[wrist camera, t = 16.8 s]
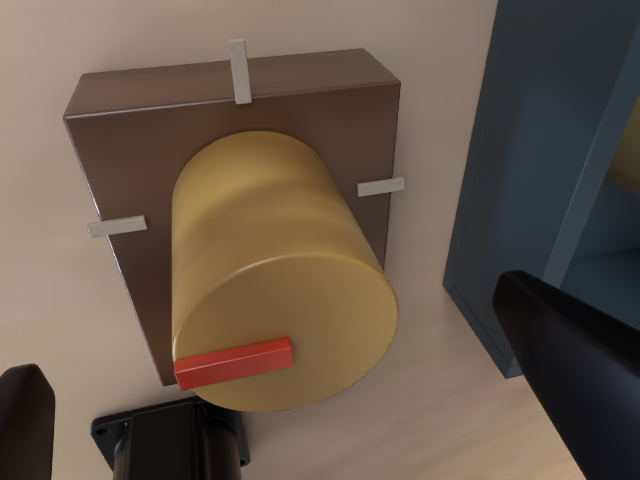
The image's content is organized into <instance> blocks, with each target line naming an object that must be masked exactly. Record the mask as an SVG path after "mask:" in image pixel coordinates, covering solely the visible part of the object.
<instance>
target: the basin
mask: <svg viewBox="0 0 640 480" xmlns="http://www.w3.org/2000/svg"><path fill="white" fill-rule="evenodd" d="M639 93H640V0H499V2H498V8H497V13H496V18H495V23H494V28H493V33H492V38H491V43H490V48H489V53H488V58H487V63H486V68H485V73H484V78H483V83H482V88H481V93H480V98H479V103H478V108H477V114H476V119H475V124H474V129H473V134H472V139H471V144H470V149H469V154H468V159H467V164H466V169H465V174H464V179H463V184H462V189H461V194H460V199H459V204H458V209H457V214H456V219H455V225H454V230H453V235H452V240H451V245H450V250H449V255H448V260H447V265H446V270H445V275H444V280H443V286H444V288H445V289H446V291H447V292H448V294H449V295H450V296H451V298H452V300H453V301H454V303H455V304H456V306H457V307H458V309H459V310H460V312H461V313H462V315H463V316H464V318H465V319H466V321H467V322H468V324H469V325H470V327H471V328H472V330H473V331H474V333H475V334H476V336H477V337H478V339H479V340H480V342H481V343H482V345H483V346H484V348H485V349H486V351H487V352H488V354H489V355H490V357H491V358H492V360H493V361H494V363H495V364H496V366H497V367H498V369H499V370H500V372H501V373H502V375H503V376H504V378H505V379H508V378H513V377H517V376H521V375H523V373H522V371H521V369H520V367H519V365H518V363H517V361H516V359H515V357H514V355H513V352H512V350H511V348H510V346H509V344H508V342H507V340H506V337H505V335H504V333H503V331H502V329H501V327H500V325H499V322H498V320H497V318H496V316H495V314H494V312H493V309H492V296H493V293H494V290H495V286H496V283H497V280H498V277H499V275H500V274H501V273H502V272H506V271H511V270H516V269H519V270H523V271H525V272H527V273H529V274H531V275H533V276H535V277H537V278H539V279H540V280H542V281H544V282H546V283H548V284H550V285H552V286H554V287H556V288H558V289H560V290H562V291H564V292H566V293H568V294H570V295H572V296H574V297H576V298H578V299H580V300H581V301H583V302H585V303H587V304H589V305H591V306H593V307H595V308H597V309H599V310H601V311H603V312H605V313H607V314H609V315H611V316H613V317H615V318H617V319H619V320H620V321H622V322H624V323H626V324H628V325H630V326H632V327H634V328H636V329H638V330H640V195H637V194H635V193H633V192H631V191H629V190H627V189H625V188H623V187H621V186H619V185H616V184H614V183H613V182H611V181H610V180H608V179H607V178H605V176H606V173H607V171H608V169H609V166H610V164H611V161H612V159H613V156H614V154H615V152H616V149H617V147H618V144H619V142H620V139H621V137H622V135H623V132H624V130H625V127H626V125H627V122H628V120H629V117H630V115H631V113H632V110H633V108H634V105H635V103H636V100H637V98H638V96H639Z"/></svg>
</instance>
